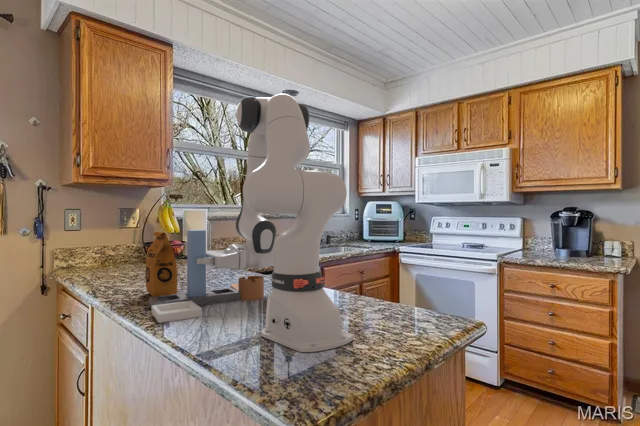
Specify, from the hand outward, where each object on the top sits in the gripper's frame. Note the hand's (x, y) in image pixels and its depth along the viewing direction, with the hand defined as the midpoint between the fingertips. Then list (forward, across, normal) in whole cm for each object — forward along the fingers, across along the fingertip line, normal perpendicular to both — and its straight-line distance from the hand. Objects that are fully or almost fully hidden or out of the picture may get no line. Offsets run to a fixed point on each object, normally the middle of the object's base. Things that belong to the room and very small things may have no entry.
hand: (193, 260), depth 115 cm
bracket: (-18, -2, +14) cm, 23 cm away
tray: (+8, +11, +14) cm, 19 cm away
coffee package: (+6, -18, +14) cm, 23 cm away
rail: (-1, 0, +14) cm, 14 cm away
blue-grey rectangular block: (-1, 0, +14) cm, 14 cm away
